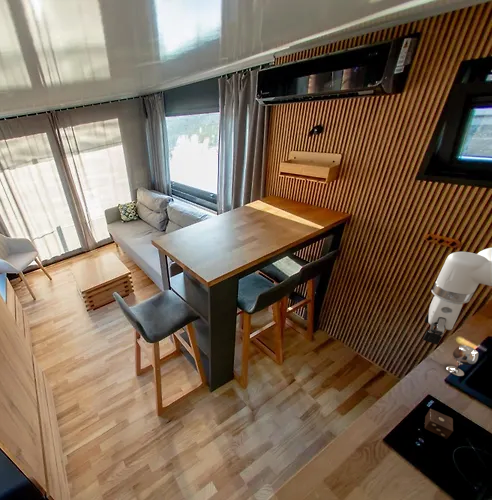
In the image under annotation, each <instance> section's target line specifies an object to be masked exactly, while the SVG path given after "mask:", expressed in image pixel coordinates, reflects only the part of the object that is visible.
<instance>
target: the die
mask: <svg viewBox="0 0 492 500" xmlns="http://www.w3.org/2000/svg"><path fill="white" fill-rule="evenodd" d="M424 430H427V431H429V432H431V433H433V434H434V435H437V436H439V437H441V438H443V439H445V440H448V438H449V437H450V436H451V435H452V433H453V432H454V418H452V416H451V417H450V416H449V415H446V414H443V413H441V412H439V411H437V410H435V409H432V408H429V410H428V412H427V413H426V415H425V416H424Z"/></svg>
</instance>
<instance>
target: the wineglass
mask: <svg viewBox="0 0 492 500" xmlns="http://www.w3.org/2000/svg"><path fill="white" fill-rule="evenodd" d="M452 358H453V359H454V360H455V361H456V362H457V366H454V365H448V366H446V370H447V371H448V372H449V373H451V374H452V375H454V376H457V377H463V376H465V372H464V371H463V370H462V369H461V368H460V366H463V365H465V366H472V365H475V364H476V363H477V362H478V360H479V351H478V350H476V349H475V348H473V347H471V346H469V345H462V344H461V345H459V346H457V347H455V348H454V350H453V351H452Z"/></svg>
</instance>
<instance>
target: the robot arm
mask: <svg viewBox="0 0 492 500" xmlns="http://www.w3.org/2000/svg"><path fill="white" fill-rule="evenodd" d="M433 284H434V285H433V286H432V289H431V293H432V294H433V298H432V300H431V303H430V304H429V308H428V312H427V313H426V315H425V318H424V323H426V324H429V325H430V326H429V329H427V330H426V332H425V334H424V336H423V339H422V341H424V342H428V343H430V344H434V345H439V343H440V341H441V340H442V338H443V336H444V332H445V330H447V331H452V330H453V328H454V326H455V324H456V321H458V317H459V315H460V314H461V310H462V308H463V304H467V303H469V302H470V300H471V299H472V297H473V295H474V294H475V292H476V290H477V288H478V286H479V285H480V284H481V285H485V286H489V287H492V247H488V248H484V249H482V250H480V251H479V252H478V253H476V252H475V253H474V252H468V251H455V252H451V253H450V254H449V255H448V256H447V257H446V259H445V262H444V263H443V265H442V268H441V270H440V272H439V273H438V276H437V278H436V281H435V282H434V283H433ZM434 327H435V329H434Z"/></svg>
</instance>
